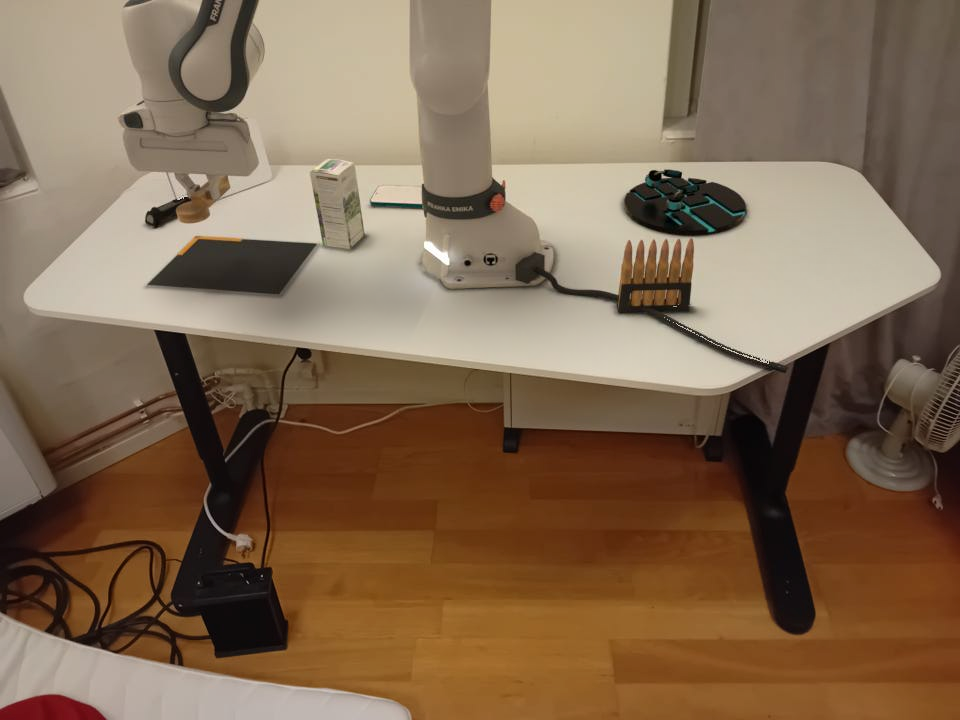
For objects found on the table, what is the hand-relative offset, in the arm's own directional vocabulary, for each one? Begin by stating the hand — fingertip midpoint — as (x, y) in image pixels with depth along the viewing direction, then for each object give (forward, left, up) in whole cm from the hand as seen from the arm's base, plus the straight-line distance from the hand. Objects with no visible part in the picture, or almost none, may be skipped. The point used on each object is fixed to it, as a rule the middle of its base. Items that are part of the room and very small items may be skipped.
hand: (204, 197), depth 119 cm
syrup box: (-16, -14, -15) cm, 26 cm away
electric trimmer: (+21, -22, -15) cm, 34 cm away
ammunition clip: (-71, +1, -15) cm, 73 cm away
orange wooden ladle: (0, 0, -1) cm, 1 cm away
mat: (0, -4, -15) cm, 15 cm away
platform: (-76, -34, -15) cm, 85 cm away
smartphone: (-24, -32, -15) cm, 43 cm away
